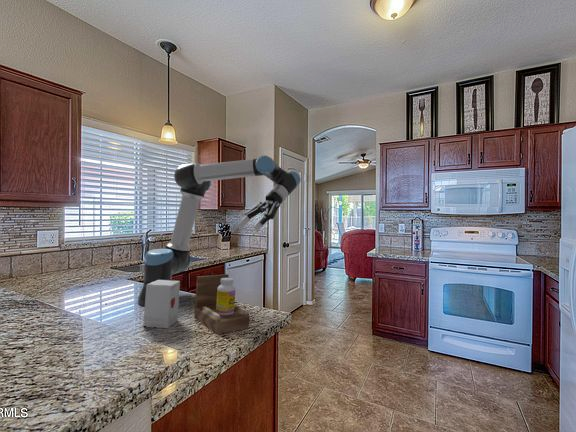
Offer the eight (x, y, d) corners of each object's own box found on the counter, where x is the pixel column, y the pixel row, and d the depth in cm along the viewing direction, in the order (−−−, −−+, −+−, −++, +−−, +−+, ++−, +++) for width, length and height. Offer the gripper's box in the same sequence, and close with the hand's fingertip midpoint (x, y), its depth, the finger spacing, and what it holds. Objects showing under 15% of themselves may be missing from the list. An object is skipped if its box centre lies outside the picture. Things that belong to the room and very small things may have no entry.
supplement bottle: (228, 317, 104) (231, 281, 104) (212, 314, 106) (214, 279, 106) (237, 312, 110) (239, 278, 111) (221, 309, 112) (223, 276, 112)
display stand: (194, 317, 113) (196, 276, 114) (224, 312, 122) (226, 274, 122) (216, 334, 98) (219, 286, 99) (249, 326, 107) (251, 283, 107)
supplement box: (168, 329, 101) (170, 285, 101) (142, 327, 101) (145, 284, 101) (178, 320, 110) (180, 280, 110) (155, 318, 110) (157, 279, 110)
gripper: (298, 202, 125) (268, 236, 116) (265, 203, 145) (237, 232, 135) (289, 188, 122) (257, 222, 112) (257, 191, 142) (227, 220, 132)
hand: (246, 228), depth 124 cm, fingers open, 13 cm apart
